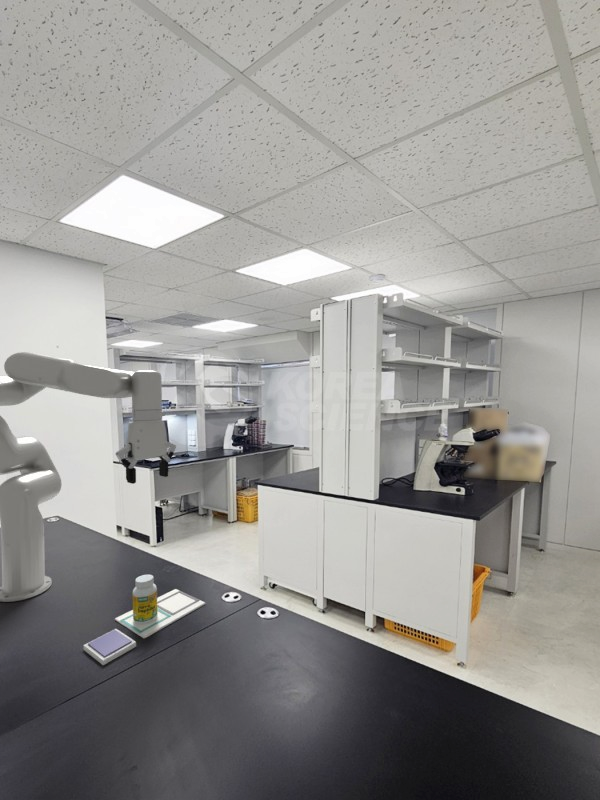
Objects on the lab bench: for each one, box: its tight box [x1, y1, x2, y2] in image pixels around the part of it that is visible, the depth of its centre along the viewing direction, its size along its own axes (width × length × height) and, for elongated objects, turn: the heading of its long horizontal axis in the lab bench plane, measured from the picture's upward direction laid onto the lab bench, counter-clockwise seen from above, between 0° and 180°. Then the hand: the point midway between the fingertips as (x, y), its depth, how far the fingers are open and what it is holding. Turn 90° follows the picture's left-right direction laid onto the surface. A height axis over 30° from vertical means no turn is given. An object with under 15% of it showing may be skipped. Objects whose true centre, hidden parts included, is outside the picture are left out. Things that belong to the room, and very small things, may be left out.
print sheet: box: [114, 588, 206, 639], centre depth 95 cm, size 12×17×1 cm
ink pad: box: [83, 628, 137, 666], centre depth 82 cm, size 8×7×1 cm
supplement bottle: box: [132, 574, 158, 624], centre depth 92 cm, size 5×5×10 cm
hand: (148, 479), depth 105 cm, fingers open, 9 cm apart
